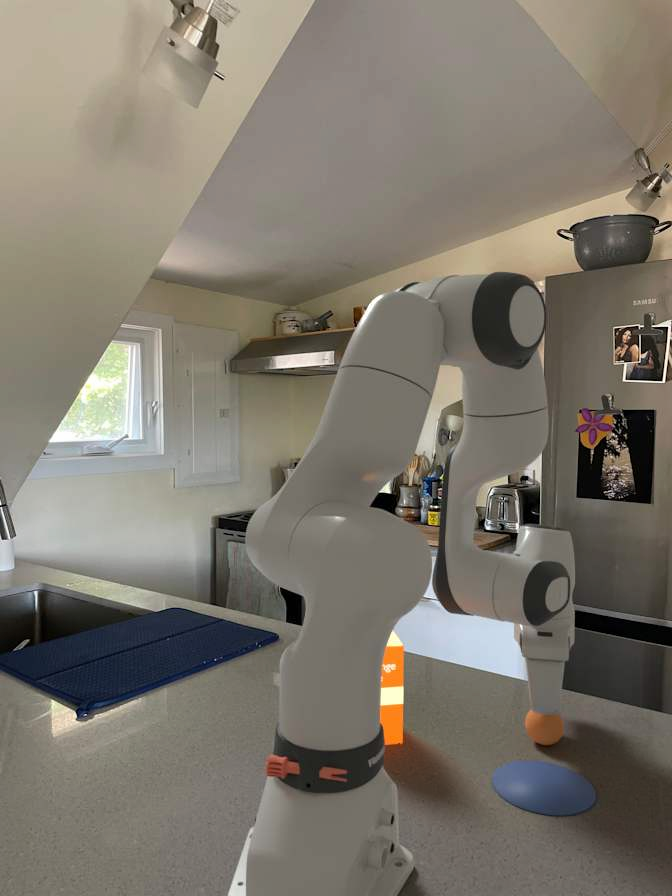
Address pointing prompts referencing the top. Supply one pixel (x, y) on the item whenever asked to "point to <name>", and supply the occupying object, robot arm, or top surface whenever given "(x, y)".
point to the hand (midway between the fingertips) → (542, 717)
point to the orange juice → (392, 691)
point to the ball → (544, 727)
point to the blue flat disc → (544, 788)
